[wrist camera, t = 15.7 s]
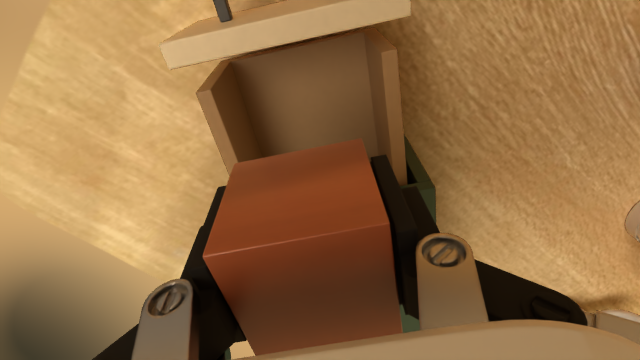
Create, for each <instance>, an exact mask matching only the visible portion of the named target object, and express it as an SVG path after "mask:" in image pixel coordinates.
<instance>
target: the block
mask: <svg viewBox="0 0 640 360" xmlns="http://www.w3.org/2000/svg"><path fill="white" fill-rule="evenodd" d="M203 259H204V261H205V263H206V265H207V266H208V268H209V270H210V272H211V274H212V276H213V277H214V279H215V281H216V283H217V285H218V287H219V289H220V290H221V292H222V294H223V296H224V298H225V300H226V302H227V303H228V305H229V307H230V309H231V311H232V313H233V315H234V316H235V318H236V320H237V322H238V324H239V326H240V328H241V329H242V331H243V333H244V335H245V337H246V339H247V340H248V342H249V344H250V346H251V348H252V349H253V352H254V353H255V355H256V356H257V355H264V354H270V353H276V352H283V351H289V350H295V349H302V348H308V347H315V346H321V345H328V344H334V343H341V342H347V341H354V340H361V339H367V338H374V337H380V336H387V335H394V334H400V333H403V330H402V322H401V313H400V305H399V297H398V288H397V280H396V272H395V263H394V255H393V246H392V238H391V230H390V222H389V219H388V216H387V213H386V210H385V207H384V204H383V201H382V198H381V195H380V192H379V189H378V186H377V183H376V180H375V177H374V174H373V171H372V168H371V165H370V162H369V159H368V156H367V153H366V150H365V147H364V143H363V140H362V139H361V138H360V139H355V140H350V141H345V142H340V143H335V144H330V145H325V146H320V147H315V148H310V149H305V150H300V151H295V152H290V153H285V154H280V155H275V156H270V157H265V158H260V159H255V160H250V161H245V162H240V163H235V164H234V166H233V169H232V172H231V175H230V177H229V180H228V183H227V186H226V189H225V192H224V195H223V198H222V201H221V204H220V206H219V209H218V212H217V215H216V218H215V221H214V224H213V227H212V230H211V233H210V235H209V238H208V241H207V244H206V247H205V250H204V253H203Z"/></svg>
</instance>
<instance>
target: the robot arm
mask: <svg viewBox="0 0 640 360" xmlns="http://www.w3.org/2000/svg"><path fill="white" fill-rule="evenodd" d="M370 165H371V168H372V171H373V174H374V177H375V180H376V183H377V186H378V189H379V192H380V195H381V198H382V201H383V204H384V207H385V210H386V213H387V216H388V219H389V222H390V230H391V238H392V246H393V255H394V263H395V272H396V280H397V288H398V297H399V305H403V308H404V311H405V315H410V316H412V317H414V318H416V319H417V320H419V324H420V331H414V332H407V333H400V334H394V335H387V336H380V337H374V338H367V339H361V340H354V341H347V342H341V343H334V344H328V345H321V346H315V347H308V348H302V349H295V350H289V351H283V352H276V353H270V354H264V355H257V356H252V357H245V358H238V359H232V360H640V323H639V322H636V321H632V320H629V319H625V318H622V317H619V316H615V315H612V314H608V313H605V312H601V311H598V310H596V313H595V314H592V313H588V312H585V311H583V310H582V309H581V308H580V307H579V305H578V304H577V303H575V302H574V301H573V300H571V299H570V298H569V297H567V296H565V295H563V294H561V293H559V292H557V291H554V290H552V289H549V288H547V287H544V286H542V285H539V284H536V283H534V282H531V281H529V280H526V279H524V278H521V277H518V276H516V275H513V274H511V273H508V272H506V271H503V270H501V269H498V268H495V267H493V266H490V265H488V264H485V263H483V262H480V261H477V260H475V259H474V256H473V252H472V249H471V247H470V245H469V244H468V243H467V242H466V241H465V240H464V239H462V238H460V237H458V236H456V235H453V234H449V233H440V231H439V229H438V227H437V225H436V223H435V221H434V219H433V217H432V215H431V213H430V211H429V209H428V207H427V205H426V203H425V202H424V200H423V198H422V196H421V194H420V192H419V190H418V188H417V186H411V187H406V188H400V186H399V183H398V181H397V179H396V176H395V174H394V172H393V169H392V167H391V164H390V162H389V160H388V157H387V155H386V154H385V155H380V156H375V157H371V161H370ZM226 186H227V185H226ZM226 186H221V187H218V189H217V191H216V194H215V197H214V199H213V202H212V204H211V207H210V210H209V212H208V215H207V218H206V220H205V223H204V225H203V226H201V228H200V229H199V231H198V234H197V237H196V239H195V242H194V244H193V247H192V249H191V252H190V255H189V257H188V260H187V262H186V265H185V267H184V270H183V272H182V275H181V278H180V279H175V280H170V281H168V282H166V283H164V284H162V285H160V286H159V287H157V288H156V289H155V290H154V291H153V292H152V293H151V294H150V295H149V296H148V298H147V299H146V300H145V302H144V305H143V307H142V311H141V316H140V321H139V324H137V325H136V326H135V327H133V328H132V329H131V330H129V331H128V332H127V333H126V334H124V335H123V336H122V337H120V338H119V339H118V340H117V341H115V342H114V343H113V344H111V345H110V346H109V347H108V348H106V349H105V350H104V351H103V352H101V353H100V354H99V355H97V356H96V357H95V358H93V359H92V360H231V353H230V348H229V347H230V346H231V345H232V344H233V343H235V342H242V341H246V340H247V339H246V337H245V335H244V333H243V331H242V329H241V328H240V326H239V324H238V322H237V320H236V318H235V316H234V315H233V313H232V311H231V309H230V307H229V305H228V303H227V302H226V300H225V298H224V296H223V294H222V292H221V290H220V289H219V287H218V285H217V283H216V281H215V279H214V277H213V276H212V274H211V272H210V270H209V268H208V266H207V265H206V263H205V261H204V259H203V253H204V250H205V247H206V244H207V241H208V238H209V235H210V233H211V230H212V227H213V224H214V221H215V218H216V215H217V212H218V209H219V206H220V204H221V201H222V198H223V195H224V192H225V189H226Z"/></svg>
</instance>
